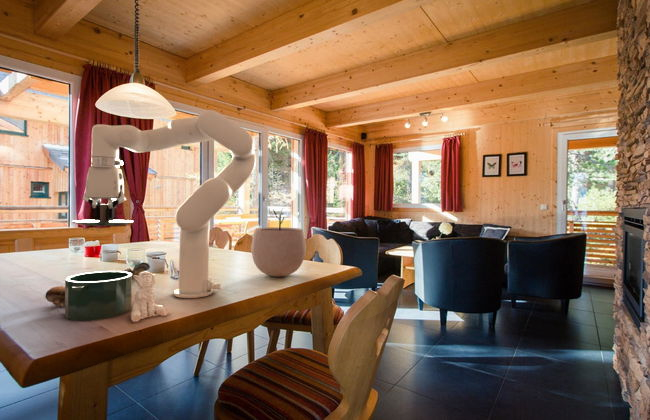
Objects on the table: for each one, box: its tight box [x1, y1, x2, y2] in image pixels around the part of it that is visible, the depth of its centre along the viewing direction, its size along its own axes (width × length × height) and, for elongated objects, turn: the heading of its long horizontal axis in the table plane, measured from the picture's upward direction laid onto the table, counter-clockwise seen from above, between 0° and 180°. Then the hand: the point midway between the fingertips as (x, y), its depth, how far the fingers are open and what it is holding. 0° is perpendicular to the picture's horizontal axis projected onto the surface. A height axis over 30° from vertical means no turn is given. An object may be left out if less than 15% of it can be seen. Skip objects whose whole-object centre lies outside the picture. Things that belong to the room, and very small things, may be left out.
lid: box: [72, 203, 134, 227], centre depth 113 cm, size 17×17×7 cm
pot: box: [64, 270, 133, 321], centre depth 99 cm, size 16×21×10 cm
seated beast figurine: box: [130, 271, 169, 323], centre depth 96 cm, size 10×9×12 cm
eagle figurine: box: [123, 262, 151, 281], centre depth 141 cm, size 8×7×9 cm
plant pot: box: [251, 208, 307, 278], centre depth 155 cm, size 24×24×30 cm
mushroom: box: [45, 285, 65, 308], centre depth 103 cm, size 8×8×6 cm
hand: (104, 219), depth 113 cm, fingers closed on lid, 2 cm apart
